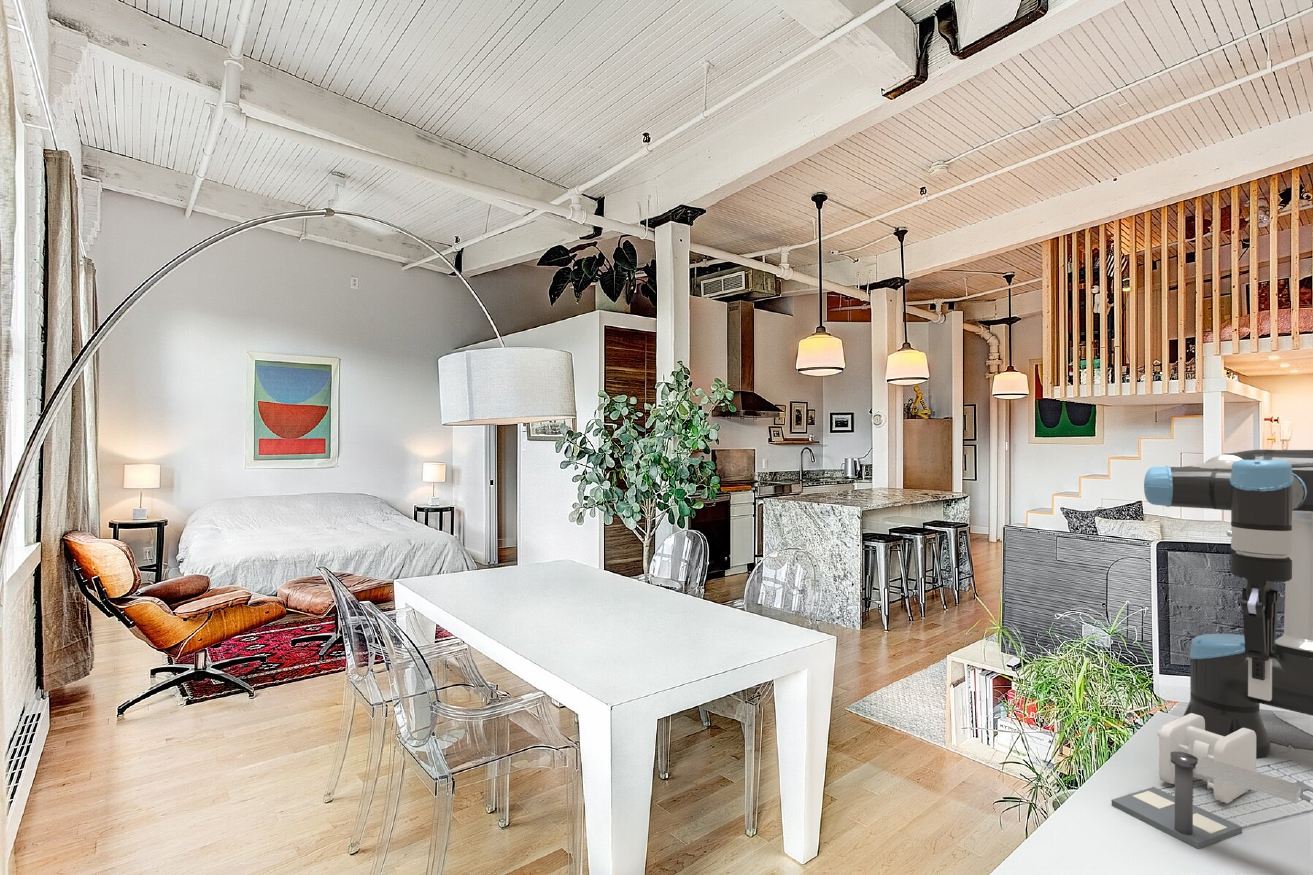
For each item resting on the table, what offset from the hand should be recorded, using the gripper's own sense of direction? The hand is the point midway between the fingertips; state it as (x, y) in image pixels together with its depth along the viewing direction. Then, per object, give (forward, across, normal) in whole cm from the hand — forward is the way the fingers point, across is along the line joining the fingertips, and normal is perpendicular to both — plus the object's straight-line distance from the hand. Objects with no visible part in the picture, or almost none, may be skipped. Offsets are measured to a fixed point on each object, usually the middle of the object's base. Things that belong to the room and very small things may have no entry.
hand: (1259, 697), depth 110 cm
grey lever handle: (+12, +7, -2) cm, 14 cm away
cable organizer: (+25, -17, -11) cm, 32 cm away
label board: (+24, +2, -11) cm, 27 cm away
